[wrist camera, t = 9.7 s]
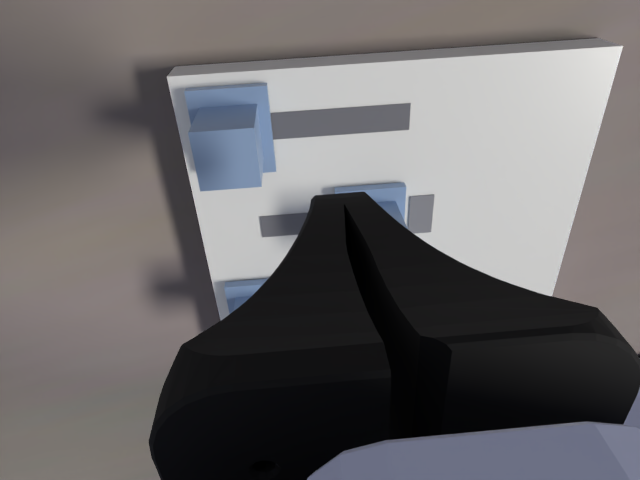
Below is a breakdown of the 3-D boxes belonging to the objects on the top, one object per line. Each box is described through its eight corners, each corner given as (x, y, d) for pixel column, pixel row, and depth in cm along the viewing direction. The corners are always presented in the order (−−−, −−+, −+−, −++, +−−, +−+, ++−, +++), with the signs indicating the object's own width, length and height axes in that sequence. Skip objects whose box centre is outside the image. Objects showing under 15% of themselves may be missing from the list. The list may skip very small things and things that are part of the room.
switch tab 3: (400, 248, 21) (415, 288, 18) (336, 253, 21) (343, 294, 18) (404, 182, 19) (421, 217, 17) (334, 187, 19) (342, 223, 16)
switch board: (524, 328, 26) (537, 349, 25) (234, 353, 26) (232, 376, 24) (599, 37, 18) (624, 46, 17) (174, 66, 17) (166, 77, 16)
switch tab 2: (293, 329, 23) (295, 374, 20) (235, 334, 23) (230, 380, 20) (288, 276, 21) (289, 319, 19) (225, 282, 21) (218, 326, 19)
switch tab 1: (276, 167, 18) (275, 202, 16) (203, 173, 18) (191, 208, 16) (266, 82, 16) (265, 107, 14) (186, 87, 16) (170, 113, 14)
